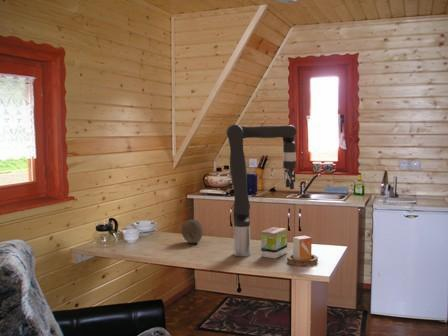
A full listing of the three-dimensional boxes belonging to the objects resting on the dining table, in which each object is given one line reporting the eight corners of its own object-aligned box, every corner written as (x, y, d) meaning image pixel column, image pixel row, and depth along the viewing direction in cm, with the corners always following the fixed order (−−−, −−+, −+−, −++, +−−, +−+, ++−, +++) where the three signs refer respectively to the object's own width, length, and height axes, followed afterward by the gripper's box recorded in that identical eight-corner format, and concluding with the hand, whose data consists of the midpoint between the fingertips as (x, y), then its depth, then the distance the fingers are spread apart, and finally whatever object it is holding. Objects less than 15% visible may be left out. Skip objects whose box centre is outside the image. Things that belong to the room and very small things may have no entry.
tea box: (276, 259, 275) (276, 233, 274) (260, 256, 280) (260, 231, 279) (287, 252, 288) (287, 228, 286) (272, 250, 293) (272, 226, 292)
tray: (292, 267, 259) (292, 261, 258) (284, 259, 274) (284, 254, 274) (321, 265, 261) (321, 260, 261) (311, 257, 277) (311, 252, 277)
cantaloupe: (208, 242, 317) (207, 219, 315) (192, 246, 306) (192, 223, 305) (192, 239, 326) (191, 217, 324) (176, 243, 315) (176, 220, 314)
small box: (299, 263, 263) (299, 239, 262) (292, 260, 268) (292, 236, 267) (311, 261, 266) (311, 237, 265) (304, 258, 272) (304, 235, 271)
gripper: (280, 159, 289) (280, 186, 290) (286, 161, 275) (286, 190, 276) (292, 159, 290) (292, 186, 291) (299, 160, 276) (299, 189, 277)
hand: (289, 188), depth 284 cm, fingers open, 8 cm apart
